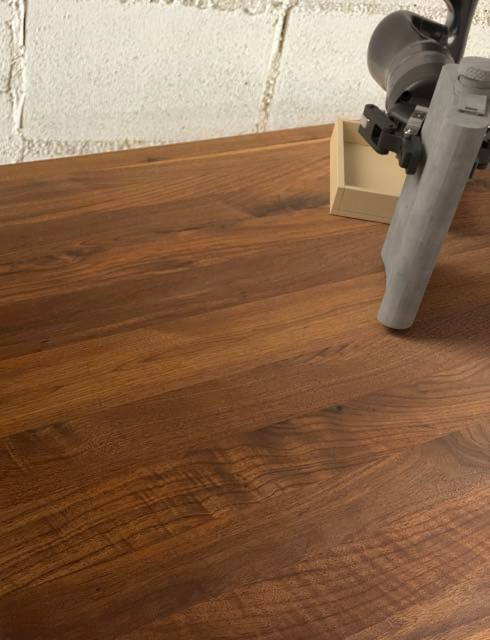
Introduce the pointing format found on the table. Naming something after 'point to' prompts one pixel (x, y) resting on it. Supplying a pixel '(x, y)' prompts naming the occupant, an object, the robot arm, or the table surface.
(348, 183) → the tray
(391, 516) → the table surface
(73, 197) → the table surface
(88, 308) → the table surface
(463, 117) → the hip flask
